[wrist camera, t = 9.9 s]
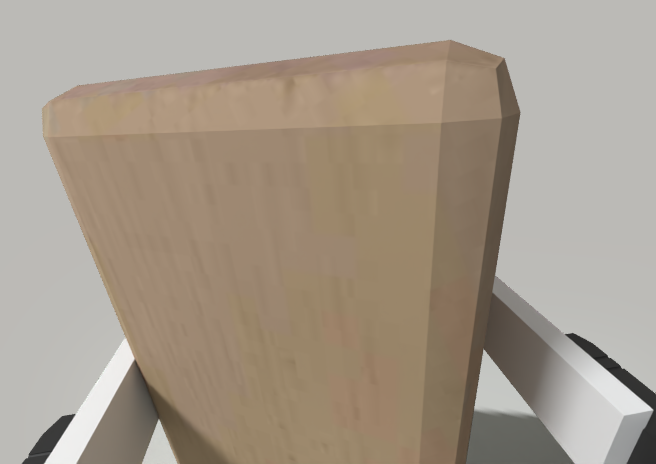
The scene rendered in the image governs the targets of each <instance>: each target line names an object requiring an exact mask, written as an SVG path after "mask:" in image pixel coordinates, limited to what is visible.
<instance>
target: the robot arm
mask: <svg viewBox="0 0 656 464" xmlns="http://www.w3.org/2000/svg"><path fill="white" fill-rule="evenodd" d="M484 350H485V351H486V352H487V354H488V355H489V356H490V357H491V359H492V360H493V361H494V362H495V364H496V365H497V366H498V367H499V369H500V370H501V371H502V372H503V374H504V375H505V376H506V377H507V379H508V380H509V381H510V382H511V384H512V385H513V386H514V387H515V389H516V390H517V391H518V393H519V394H520V395H521V396H522V397H523V399H524V400H525V401H526V402H527V404H528V405H529V406H530V408H531V409H532V410H533V412H534V413H535V414H536V415H537V417H538V418H539V419H540V420H541V422H542V423H543V424H544V425H545V427H546V428H547V429H548V430H549V432H550V433H551V434H552V436H553V437H554V438H555V439H556V441H557V442H558V443H559V444H560V446H561V447H562V448H563V449H564V451H565V452H566V453H567V454H568V456H569V457H570V458H571V459H572V461H573V462H574V463H575V464H656V394H655V393H654V392H653V391H651V390H650V389H649V388H648V387H646V386H645V385H644V384H643V383H641V382H640V381H639V380H638V379H636V378H635V377H634V376H633V375H631V374H630V373H629V372H628V371H626V370H625V369H622V368H621V366H620V365H619V364H618V363H616V362H615V361H614V360H612V359H611V358H608V356H607V355H606V354H605V353H604V352H603V351H601V350H600V349H599V348H598V347H596V346H595V345H594V344H593V343H591V342H589V341H587V340H585V339H583V338H581V337H580V336H578V335H576V334H574V333H571V334H563V333H562V332H561V331H560V330H559V329H558V328H556V327H555V326H554V325H553V324H552V323H551V322H549V321H548V320H547V319H546V318H545V317H544V316H542V315H541V314H540V313H539V312H538V311H536V310H535V309H534V308H533V307H532V306H531V305H529V304H528V303H527V302H526V301H525V300H524V299H522V298H521V297H520V296H519V295H518V294H516V293H515V292H514V291H513V290H512V289H511V288H509V287H508V286H507V285H506V284H505V283H503V282H502V281H501V280H500V279H499V278H498V277H496V276H495V278H494V284H493V291H492V297H491V304H490V310H489V316H488V323H487V329H486V336H485V342H484ZM158 419H159V416H158V414H157V412H156V409H155V407H154V404H153V402H152V399H151V397H150V394H149V392H148V390H147V387H146V385H145V382H144V380H143V377H142V375H141V373H140V370H139V368H138V365H137V363H136V360H135V358H134V356H133V354H132V351H131V349H130V346H129V344H128V342H127V339H126V337H125V339H124V340H123V342H122V343H121V345H120V346H119V348H118V350H117V351H116V353H115V354H114V356H113V357H112V359H111V361H110V362H109V364H108V365H107V367H106V369H105V370H104V371H103V373H102V375H101V376H100V378H99V379H98V381H97V382H96V384H95V385H94V387H93V389H92V390H91V392H90V393H89V395H88V397H87V398H86V400H85V401H84V403H83V404H82V406H81V407H80V409H79V410H78V412H77V413H76V414H72V415H67V416H62V417H61V418H60V419H59V420H58V421H57V422H56V423H55V424H53V425H52V426H51V427H50V428H49V429H48V430H47V431H46V432H45V433H44V434H43V435H42V436H41V438H40V439H39V441H38V442H37V443H36V445H35V446H34V448H33V449H32V450H31V452H30V453H29V457H28V458H27V459H25V460H24V462H23V463H22V464H142V461H143V459H144V456H145V453H146V451H147V448H148V446H149V443H150V440H151V438H152V435H153V432H154V430H155V427H156V424H157V422H158Z"/></svg>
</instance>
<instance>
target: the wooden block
mask: <svg viewBox="0 0 656 464" xmlns="http://www.w3.org/2000/svg"><path fill="white" fill-rule="evenodd" d="M519 118H520V110H519V106H518V103H517V99H516V96H515V92H514V89H513V86H512V82H511V79H510V76H509V72H508V69H507V65H506V62H505V59H504V58H502V57H500V56H497V55H493V54H491V53H488V52H485V51H481V50H478V49H476V48H473V47H470V46H467V45H464V44H461V43H458V42H455V41H452V40H447V41H439V42H431V43H423V44H415V45H406V46H398V47H390V48H382V49H373V50H365V51H358V52H349V53H341V54H333V55H325V56H317V57H309V58H300V59H292V60H284V61H275V62H267V63H259V64H251V65H243V66H234V67H227V68H218V69H210V70H202V71H194V72H185V73H178V74H170V75H161V76H153V77H144V78H136V79H129V80H120V81H112V82H104V83H95V84H87V85H79V86H76V87H74V88H73V89H71V90H69V91H67V92H65V93H64V94H62V95H60V96H58V97H56V98H54V99H52V100H51V101H49V102H48V103H47V104H46V105H45V106H44V107H43V108H42V120H43V137H44V140H45V142H46V144H47V147H48V149H49V152H50V154H51V157H52V159H53V161H54V164H55V166H56V169H57V171H58V174H59V176H60V178H61V181H62V183H63V186H64V188H65V190H66V193H67V195H68V198H69V200H70V202H71V205H72V208H73V210H74V213H75V215H76V217H77V220H78V222H79V224H80V227H81V230H82V232H83V235H84V237H85V239H86V242H87V244H88V246H89V249H90V252H91V254H92V256H93V259H94V261H95V264H96V266H97V269H98V270H99V273H100V276H101V278H102V281H103V283H104V286H105V288H106V290H107V293H108V295H109V298H110V300H111V303H112V305H113V307H114V310H115V312H116V315H117V317H118V320H119V322H120V324H121V327H122V329H123V332H124V334H125V337H126V339H127V342H128V344H129V346H130V349H131V351H132V354H133V356H134V358H135V360H136V363H137V365H138V368H139V370H140V373H141V375H142V377H143V380H144V382H145V385H146V387H147V390H148V392H149V394H150V397H151V399H152V402H153V404H154V407H155V409H156V412H157V414H158V416H159V419H160V422H161V424H162V427H163V429H164V432H165V434H166V437H167V439H168V441H169V444H170V446H171V449H172V451H173V454H174V456H175V458H176V461H177V463H178V464H466V457H467V451H468V444H469V438H470V432H471V425H472V419H473V412H474V406H475V399H476V393H477V386H478V380H479V374H480V368H481V361H482V355H483V348H484V342H485V336H486V329H487V323H488V316H489V310H490V304H491V297H492V291H493V284H494V278H495V272H496V265H497V259H498V252H499V246H500V240H501V233H502V227H503V220H504V214H505V208H506V201H507V194H508V188H509V182H510V175H511V169H512V163H513V156H514V150H515V144H516V137H517V130H518V124H519Z"/></svg>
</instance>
